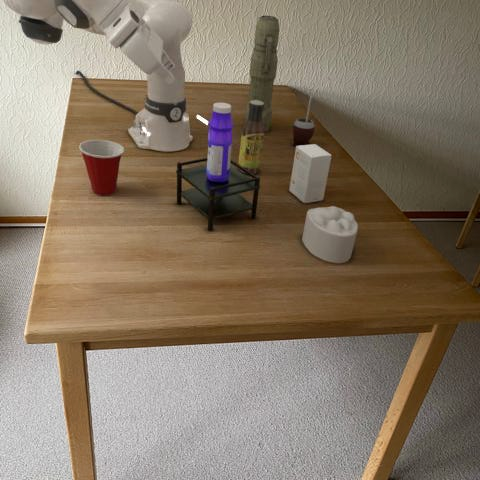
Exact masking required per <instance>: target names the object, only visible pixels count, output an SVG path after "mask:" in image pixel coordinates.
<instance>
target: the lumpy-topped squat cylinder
mask: <svg viewBox="0 0 480 480" xmlns="http://www.w3.org/2000/svg"><path fill="white" fill-rule="evenodd" d="M358 230H359V226H358V222H357V221H356V219H355V216H354V214H353V213H352V212H350V211H346V210H345V209H343V208H341V207H337V206H335V205H331V206H326V207H320V206H319V207H315V208H309V209H308V210H307V212H306V216H305V221H304V228H303V233H302V238H301V240H302V243H303V244H304V246H305V248H306V249H307V250H308V252H309V253H310V254H312V255H313V256H315V257H317V258H319V260H323V261H325V262H329V263H333V264H344V263H347V262H348V261H350V259H351V257H352V253H353V249H354V245H355V243H356V238H357V235H358Z"/></svg>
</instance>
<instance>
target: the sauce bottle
mask: <svg viewBox="0 0 480 480" xmlns="http://www.w3.org/2000/svg"><path fill="white" fill-rule="evenodd" d="M263 109H264V103H263V102H262V101H258V100H252V101H250V103H249V115H248V119H247V121H245V122H244V123H243V125H242V131H241V137H240V138H241V139H240V146H239V147H240V148H239V156H238V163H237V164H239V165H240V166H242V167H243V168H245V169H246V170H248V171H249V172H251V173H252V174H254V175H255V174H258V172H259V168H260V164H261V158H262V150H263V145H264V137H265V132H264V125H263V123H262V121H261V120H262V112H263ZM237 170H238V171H239V172H241V173H242V174H245V175H246V174H247V173H245V172H244V171H242V170H241V169H239V168H238V167H237ZM247 175H248V174H247Z"/></svg>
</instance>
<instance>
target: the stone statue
mask: <svg viewBox="0 0 480 480" xmlns="http://www.w3.org/2000/svg"><path fill="white" fill-rule="evenodd" d="M279 22H280V21H279V19H278V18H277V17H276V16H274V15H261V16H259V17H258V19H257V21H256V24H255V30H254V41H253V43H254V47H253V51H252V54H251V56H250V62H249V63H250V64H249V65H250V66H249V79H250V80H249V91H248V102H247V105H246V108H245V118H244V121H245V122H246V121H247V119H248V115H249V103H250V101H252V100H258V101H262V102H263V103H264V109H263V112H262V120H261V121H262V123H263V125H264V133H267V132H269V131H270V125H271V123H272V114H273V110H272V100H273V93H274V92H273V91H274V82H275V79H276V78H277V69H278V62H279V60H278V59H279V58H278V54H277V53H278V50H277V48H278V45H279V36H280V23H279Z"/></svg>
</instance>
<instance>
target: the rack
mask: <svg viewBox="0 0 480 480" xmlns="http://www.w3.org/2000/svg"><path fill="white" fill-rule="evenodd" d="M207 160H208V157H203V158H198V159H193V160H188V161H181V162H180V161H178V162H177V163H176V170H175V173H176V205H179V206H180V205H182V199H184V200H185V201H186V202H187V203H188V204H190V205H191V206H192V207H193V208H195V210H197V211H198V212H199V213H200V214H202V215H203V216H204V217H205V218H207V231H208V232H213V230H214V220H219V219H221V218H225V217H229V216H232V215H237V214H240V213H244V212H248V211H251V212H250V219H251V220H255V219H256V217H257V211H258V210H257V209H258V200H259V194H260V193H259V191H260V189H261V185H260V184H261V177H260V176H258V175H256V174H255V173H254V174H252V173H251V172H249V171H248V170H246V169H245V168H243V167H242V166H240V165H239V163H237V161H234V160H233V159H231V160H230V164H231V165H230V176H229V178H228V180H227V181H225V182H213V181H210V180H209V179H208V177H207V173H206V169H207V163H206V164H200V165H195V166H190V167H186V168H183V167H184V166H187V165H194V164H198V163H203V162H207ZM232 165H233V166H232ZM234 166H235V167H236V168H237V169H236V168H235V167H234ZM238 168H239V169H241V170H242V171H244V172H245V173H243V172H241V171H239V169H238ZM246 173H247V175H246ZM249 177H251V178H249ZM183 180H184V181H185V182H187V183H188V184H189V185H191V186H192V187H193V188H189V189H184V190H183V189H182V188H183V187H182V185H183ZM251 191H253V193H252V194H253V195H252V202H250V201H249V200H247V199H246V198H245V197H244V196H243V195H241V194H244V193H247V192H248V193H249V192H251Z"/></svg>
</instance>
